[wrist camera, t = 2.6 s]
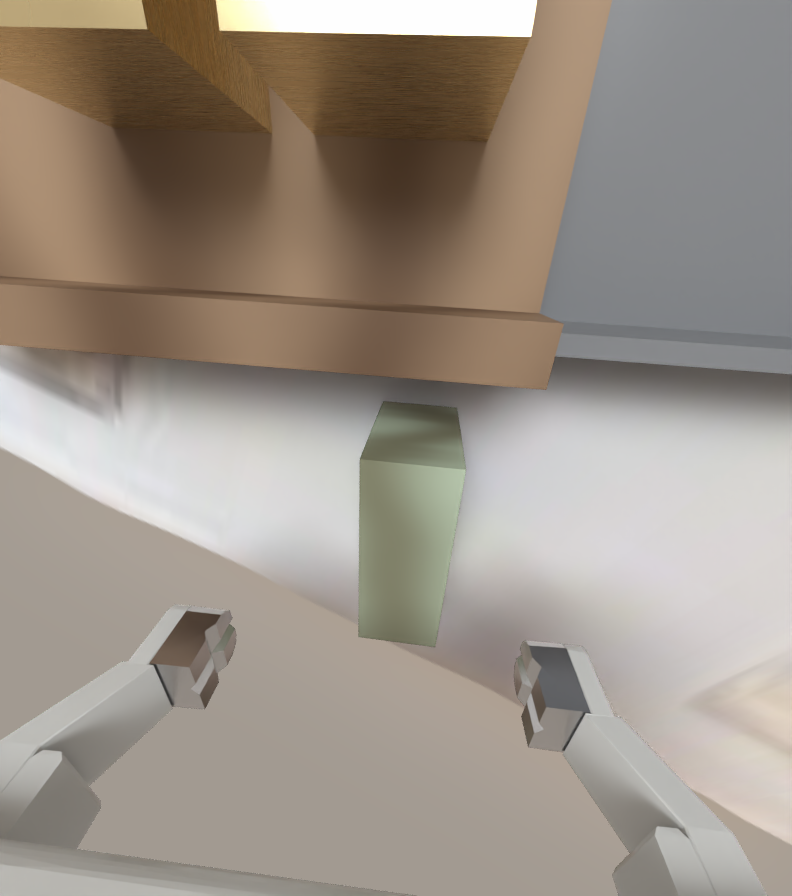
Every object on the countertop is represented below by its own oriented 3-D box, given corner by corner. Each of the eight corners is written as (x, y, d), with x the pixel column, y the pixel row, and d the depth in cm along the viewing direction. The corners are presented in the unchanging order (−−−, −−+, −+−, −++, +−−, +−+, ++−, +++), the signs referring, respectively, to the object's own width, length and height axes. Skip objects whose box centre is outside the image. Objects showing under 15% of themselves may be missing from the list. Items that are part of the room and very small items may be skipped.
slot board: (667, -454, 6) (1264, -2299, 2) (507, 347, 13) (546, 390, 8) (-304, -389, 7) (-1391, -1355, 3) (3, 309, 14) (-198, 328, 9)
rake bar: (456, 406, 14) (466, 469, 10) (435, 553, 18) (435, 646, 13) (383, 400, 14) (359, 459, 10) (377, 546, 18) (358, 636, 14)
